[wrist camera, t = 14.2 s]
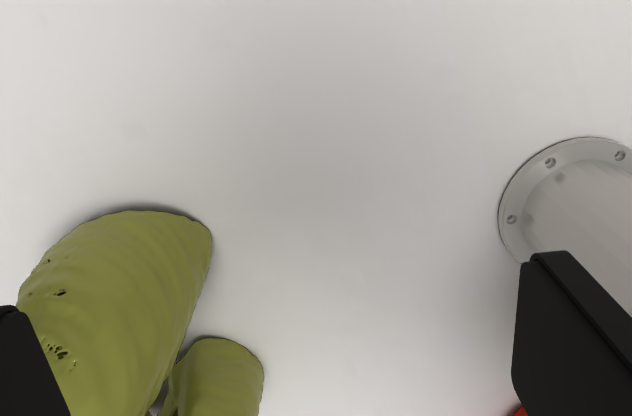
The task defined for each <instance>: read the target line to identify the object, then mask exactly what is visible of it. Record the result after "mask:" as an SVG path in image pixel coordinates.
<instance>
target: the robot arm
mask: <svg viewBox="0 0 632 416" xmlns="http://www.w3.org/2000/svg"><path fill="white" fill-rule="evenodd" d="M547 159H548V160H547ZM546 160H547V161H546ZM498 222H499V231H500V234H501V237H502V240H503V242H504V244H505V245H506V247H507V249H508V250H509V252H510V253H511V254H512V255H513V256H514V258H515V259H516V260H517V261H518V262H520V263H521V264H522V265H521V269H520V279H519V290H518V301H517V312H516V323H515V334H514V345H513V356H512V366H511V377H512V383H513V386H514V389H515V391H516V394H517V396H518V398H519V400H520V401H521V403H522V405H523V407H524V409H525V411H526V413H527V415H528V416H632V150H631V149H629V148H627V147H625V146H624V145H622V144H620V143H618V142H615V141H611V140H608V139H605V138H594V137H586V138H576V139H572V140H568V141H564V142H561V143H558V144H556V145H554V146H552V147H549V148H547V149H545V150H544V151H542V152H541V153H539V154H538V155H536V156H535V157H533V158H532V159H530V160H529V161H528V162H527V163H526V164H525V165H524V166H523V167H522V168H521V169H520V170H519V171H518V172H517V174H516V175H515V176H514V177H513V179H512V180H511V181H510V183H509V185H508V187H507V189H506V191H505V192H504V195H503V198H502V201H501V204H500V208H499V217H498ZM0 416H71V414H70V411H69V409H68V406H67V404H66V402H65V399H64V397H63V395H62V393H61V390H60V388H59V386H58V383H57V381H56V379H55V377H54V374H53V372H52V370H51V367H50V365H49V363H48V361H47V358H46V356H45V354H44V351H43V349H42V347H41V345H40V342H39V340H38V338H37V335H36V333H35V331H34V328H33V326H32V324H31V322H30V319H29V317H28V316H27V314H25V313H24V312H20V311H19V309H18V308H16V307H15V306H12V305H5V306H0Z"/></svg>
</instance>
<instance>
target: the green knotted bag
mask: <svg viewBox="0 0 632 416" xmlns="http://www.w3.org/2000/svg"><path fill="white" fill-rule="evenodd" d="M210 257H211V235H210V232H209V231H208V229H207V228H206V227H204V226H202V225H201V224H200V223H199V222H197V221H191V220H189V219H188V218H186V217H185V216H176V215H173V214H170V213H166V212H154V211H130V210H129V211H124V212H120V213H116V214H107V215H104V216H102V217H100V218H98V219H96V220H93V221H90V222H86V223H83V224H80V225H79V226H78V227H76V228H75V229H74V230H73V231H72V232H70V233H69V234H68V235H66V236H64V237H63V238H62V239H61V240H60V241H59V242H58V243H57V244H55V245H54V246H52V247H51V248H50V249H49V250H47V252H46V253H45V254H44V256H43V257H42V259H41V261H40V263H39V264H38V265H37V266H36V267H35V268H34V269H33V271H32V272H31V275H30V276H29V277H28V278H27V279H26V280H25V282H24V283H23V284H22V285H21V287H20V289H19V293H18V301H17V303H16V306H15V307H16V308H18V309H19V311H20V312H24V313H25V314H27V316H28V317H29V319H30V322H31V324H32V326H33V328H34V331H35V333H36V335H37V338H38V340H39V342H40V345H41V347H42V349H43V351H44V354H45V356H46V358H47V361H48V363H49V365H50V367H51V370H52V372H53V374H54V377H55V379H56V381H57V383H58V386H59V388H60V390H61V393H62V395H63V397H64V399H65V402H66V404H67V406H68V409H69V411H70V414H71V416H152V415H151V414H150V412H149V411H148V409H149V408H150V407H151V405H152V404H153V403H154V401H155V400H156V398H157V396H158V394H159V392H160V389H161V387H162V384H163V382H164V381H165V379H166V378H167V377H168V381H169V391H168V394H167V396H166V398H165V401H164V405H163V407H162V409H161V410H160V412H159V413H158V414H157V416H258V413H259V404H260V402H261V398H262V392H263V381H264V373H263V368H262V366H261V363H260V362H259V361H258V359H257V357H256V356H252V355H251V353H250V352H249V351H248V350H247V349H246V348H245V347H243V346H241V345H239V344H237V343H236V342H232V341H229V340H226V339H220V338H216V339H211V338H207V339H202V340H199V341H197V342H196V343H194V344H193V346H192V347H191V348H190V349H189V350H188V352H187V353H186V355H185V356H184V357H183V358H182V359H181V360H180V361H179V362H178V363H177V364H175V365H174V363H175V360H176V357H177V353H178V351H179V349H180V347H181V344H182V342H183V340H184V337H185V334H186V330H187V328H188V325H189V323H190V321H191V318H192V314H193V311H194V309H195V306H196V301H197V299H198V297H199V295H200V292H201V290H202V287H203V283H204V281H205V278H206V275H207V273H208V270H209V263H210Z"/></svg>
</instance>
